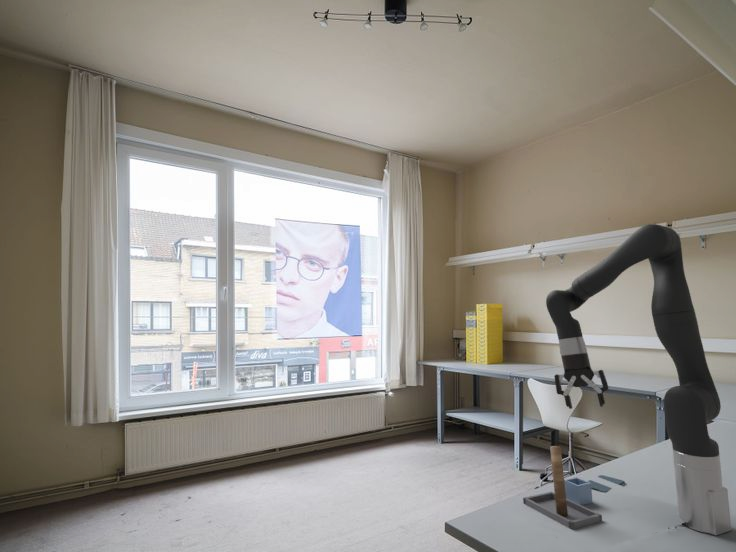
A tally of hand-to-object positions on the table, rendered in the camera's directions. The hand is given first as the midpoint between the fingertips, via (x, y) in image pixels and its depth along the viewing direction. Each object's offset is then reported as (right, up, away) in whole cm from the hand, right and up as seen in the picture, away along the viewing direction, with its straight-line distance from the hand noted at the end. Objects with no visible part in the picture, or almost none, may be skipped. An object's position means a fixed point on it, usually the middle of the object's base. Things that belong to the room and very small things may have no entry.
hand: (586, 407), depth 129 cm
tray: (-16, -22, -19) cm, 33 cm away
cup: (-8, -23, -12) cm, 27 cm away
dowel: (-16, -21, -20) cm, 33 cm away
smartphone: (+5, -24, 0) cm, 25 cm away
